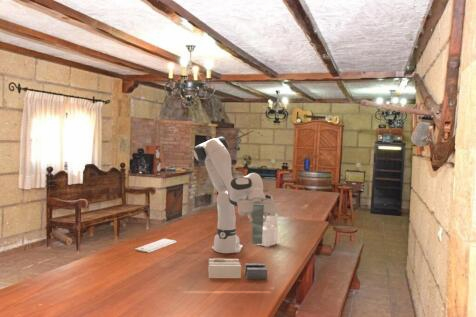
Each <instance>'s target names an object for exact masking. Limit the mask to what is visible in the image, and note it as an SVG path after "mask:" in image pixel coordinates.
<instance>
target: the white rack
mask: <svg viewBox="0 0 476 317" xmlns="http://www.w3.org/2000/svg"><path fill="white" fill-rule="evenodd" d="M225 260H234V261H235V263H231V262H225ZM207 268H208V279H242V278H241V277H242V265H241V262H240V259H239V258H224V262H214V258H208V267H207Z"/></svg>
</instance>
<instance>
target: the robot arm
mask: <svg viewBox="0 0 476 317" xmlns="http://www.w3.org/2000/svg"><path fill="white" fill-rule="evenodd" d="M228 150H229V142H228V141H227V139H226V138H225V137H224V136H218V137H216V138H211V139H209V140H207V141H205V142H202V143H200V144H198V145H196V146H194V148H193V150H192V152H193V157H194V158H195V159H196V161H197V162H200V163H203V162H204V164H205V169H206V171H207V174H208V177H209V179H210V182H211V184H212V185H213V186H214V188H215V189H216V191H217V193H218V194H217V196H216V198H215V201H216V206H217V209H216V210H217V228H216V235H215V236H214V239H213V240H214V241H213V245H212V247H211V249H212V250H213V251H214V252H216V253H219V254H220V253H221V254H234V253H237V254H239V253H240V252H241V250H242V249H243V246H244V245H243V244H240V237H239V236H238V235H237V231H238V227H236V211H235V206H236V207H237V215H239V216H247V218H248V220H249V223H253V204H263V205H264V212H263V216H264V217H265V218H263V222H266V218H267V216H275V215H276V213H277V212H278V210H277V205H276V203H275V201H274V196H272V195H270V194H266V193H264V183H263V179H262V177H261V176H260V174H259V173H256V172H251V173H248V174H247V175H244V176H236V177H234V178H233V174H232V173H233V172H232V157H231V154H230V152H229V151H228ZM277 214H278V213H277Z"/></svg>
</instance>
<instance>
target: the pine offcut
mask: <svg viewBox="0 0 476 317" xmlns="http://www.w3.org/2000/svg"><path fill="white" fill-rule="evenodd" d="M213 259H214V262H224V259H225V258H224V257H213Z"/></svg>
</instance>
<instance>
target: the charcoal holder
mask: <svg viewBox="0 0 476 317" xmlns="http://www.w3.org/2000/svg"><path fill="white" fill-rule="evenodd" d="M244 275H245V277H246V280H251V281H252V280H254V281H255V280H256V281H257V280H259V281H261V280H265V281H266V280H268V268H267V267H266V264H265V263H264V262H263V263H262V262H261V263H259V262H258V263H257V262H256V263H255V262H254V263H253V262H248V263H247V262H245V264H244Z"/></svg>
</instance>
